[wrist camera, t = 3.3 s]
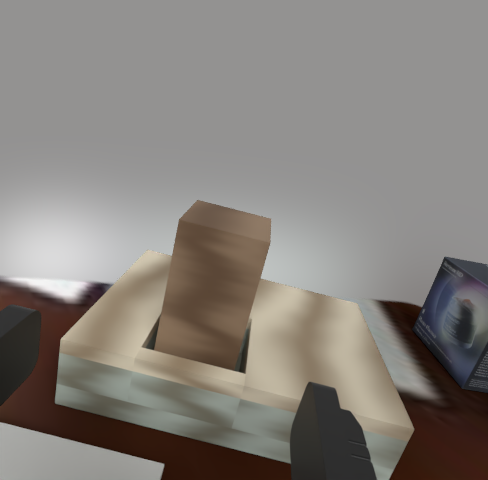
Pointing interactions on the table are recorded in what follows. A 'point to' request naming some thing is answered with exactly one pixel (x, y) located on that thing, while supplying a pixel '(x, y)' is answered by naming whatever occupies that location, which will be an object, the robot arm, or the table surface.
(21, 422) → the table surface
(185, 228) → the brown wooden block
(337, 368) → the slotted wooden base
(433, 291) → the small box
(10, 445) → the grey pad
